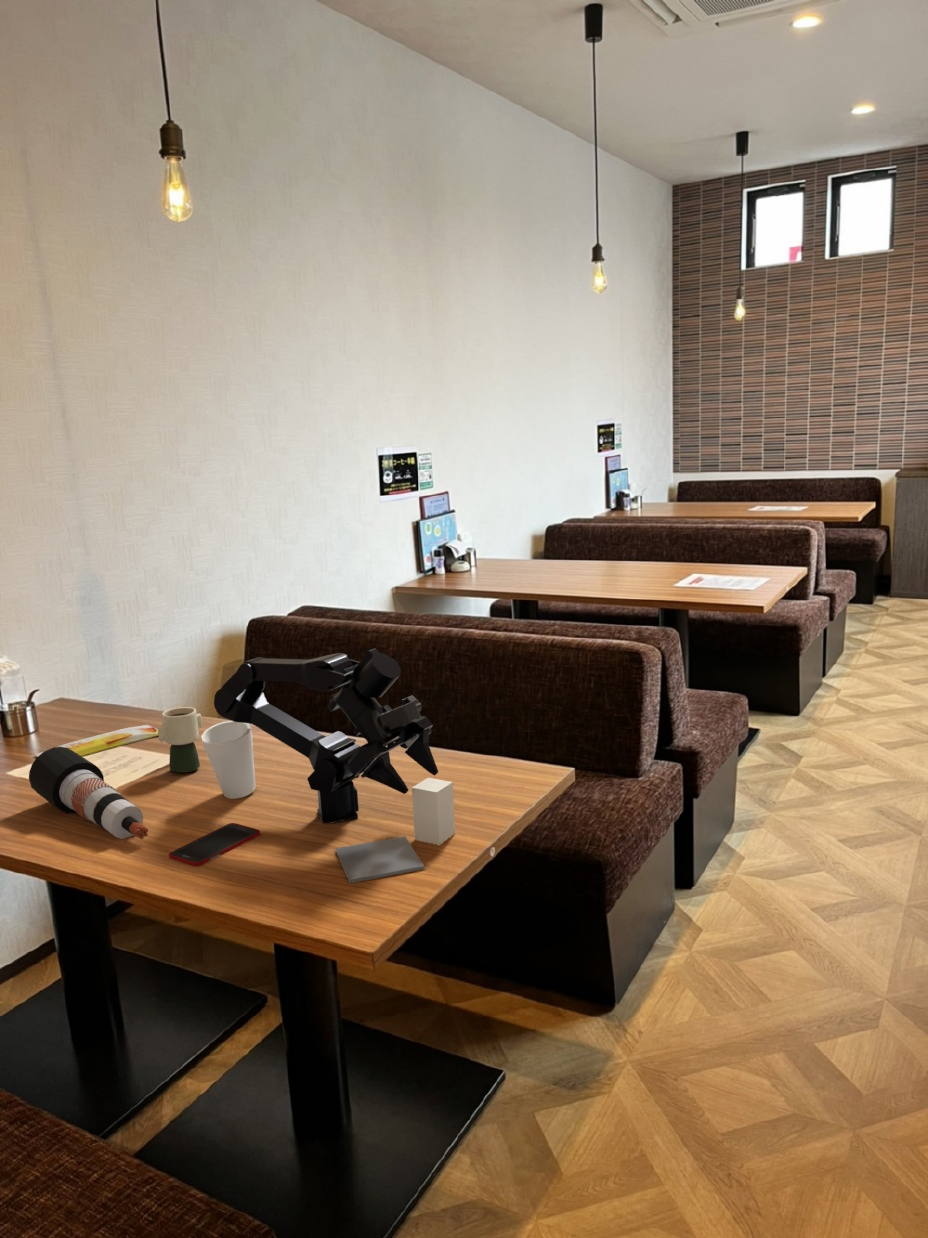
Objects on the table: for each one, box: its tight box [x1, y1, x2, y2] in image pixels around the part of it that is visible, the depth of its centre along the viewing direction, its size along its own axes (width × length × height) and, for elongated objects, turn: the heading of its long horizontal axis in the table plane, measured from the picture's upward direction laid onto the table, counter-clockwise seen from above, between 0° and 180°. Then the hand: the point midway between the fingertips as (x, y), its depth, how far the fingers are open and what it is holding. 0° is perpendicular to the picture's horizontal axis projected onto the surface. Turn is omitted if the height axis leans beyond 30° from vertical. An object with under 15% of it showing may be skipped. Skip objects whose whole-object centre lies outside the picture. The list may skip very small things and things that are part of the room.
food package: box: [34, 724, 159, 758], centre depth 217 cm, size 27×2×10 cm
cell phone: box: [168, 822, 261, 867], centre depth 161 cm, size 8×15×1 cm, turn 146°
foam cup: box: [201, 720, 256, 800], centre depth 182 cm, size 10×9×13 cm
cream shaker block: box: [411, 777, 456, 846], centre depth 159 cm, size 5×5×10 cm
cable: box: [28, 746, 149, 840], centre depth 173 cm, size 10×34×10 cm, turn 47°
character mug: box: [157, 706, 203, 774], centre depth 197 cm, size 11×7×13 cm, turn 144°
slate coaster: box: [335, 835, 425, 884], centre depth 152 cm, size 12×12×1 cm
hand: (422, 782), depth 160 cm, fingers open, 9 cm apart
